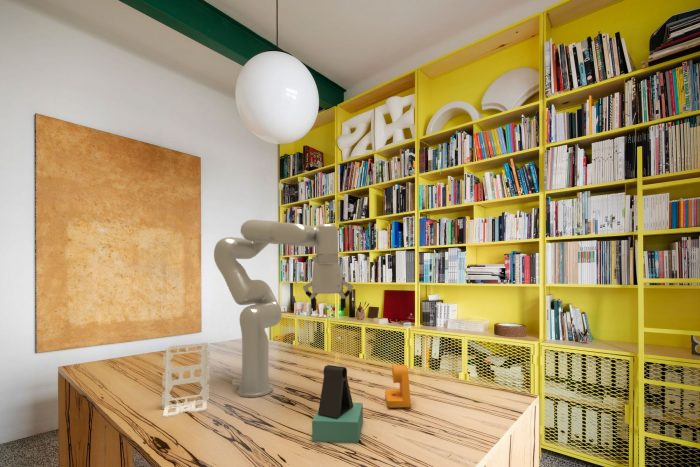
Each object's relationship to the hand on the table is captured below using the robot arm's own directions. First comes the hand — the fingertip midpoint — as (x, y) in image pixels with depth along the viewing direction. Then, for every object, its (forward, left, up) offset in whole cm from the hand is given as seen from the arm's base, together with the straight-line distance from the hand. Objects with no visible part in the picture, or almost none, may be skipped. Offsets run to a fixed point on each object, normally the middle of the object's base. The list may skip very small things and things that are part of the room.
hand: (328, 310), depth 117 cm
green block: (+6, -18, -30) cm, 36 cm away
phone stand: (+5, -18, -26) cm, 32 cm away
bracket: (+22, +2, -31) cm, 38 cm away
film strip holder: (-48, -5, -31) cm, 57 cm away
